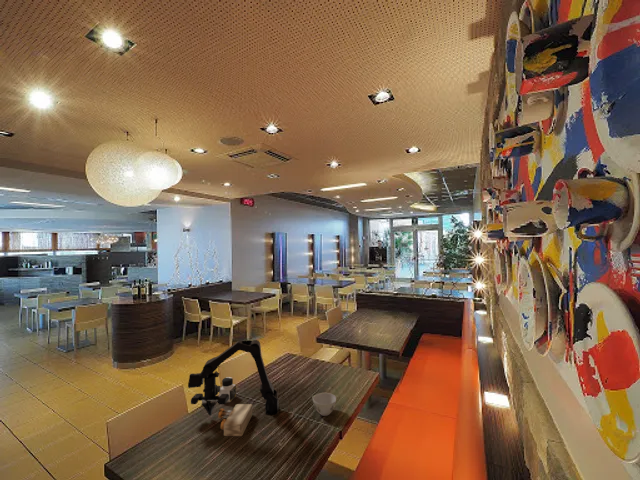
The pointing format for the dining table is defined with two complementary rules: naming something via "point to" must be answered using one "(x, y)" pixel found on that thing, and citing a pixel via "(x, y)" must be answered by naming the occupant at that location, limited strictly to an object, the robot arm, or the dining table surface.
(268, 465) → the dining table surface
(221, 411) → the knob inner
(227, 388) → the medicine bottle
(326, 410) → the teacup
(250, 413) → the beech block
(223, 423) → the knob outer
